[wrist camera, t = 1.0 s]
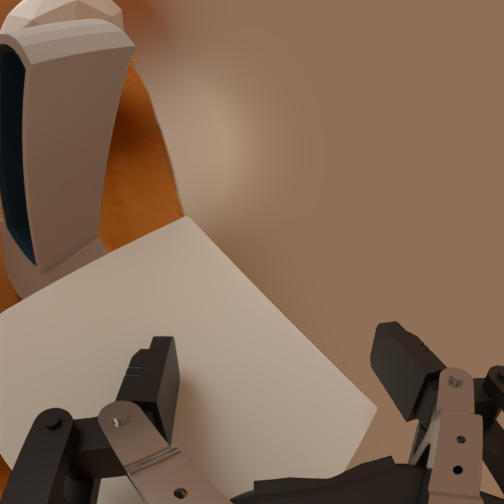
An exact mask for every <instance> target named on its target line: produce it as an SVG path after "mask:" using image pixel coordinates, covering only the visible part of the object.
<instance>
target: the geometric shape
mask: <svg viewBox="0 0 504 504" xmlns="http://www.w3.org/2000/svg"><path fill="white" fill-rule="evenodd" d="M82 19H102V20H105V21H107V22H110V23H113V24H114V25H116V26H117V27H118V28H120V29H121V30H123V19H122V10H121V9H120V8H119V7H118V6H117V5H116V4H115V3H114V2H113V1H112V0H23V1H22V2H21V3H19V4H18V5H17V6H16V7H15V8H14V9H13V10H12V11H11V12H10V13H9V14H8V15H7V17H6V19H5V21H4V23H3V25H2V28H1V30H0V34H3V33H6V32H11V31H15V30H19V29H24V28H28V27H33V26H39V25H44V24H50V23H57V22H64V21H72V20H82Z"/></svg>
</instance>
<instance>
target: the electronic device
mask: <svg viewBox="0 0 504 504" xmlns="http://www.w3.org/2000/svg"><path fill="white" fill-rule="evenodd" d="M134 48H135V45H134V44H133V43H132V41H131V40H130V39H129V37H128V36H127V35H126V34H125V33H124V31H123V30H121V29H120V28H118V27H117V26H116V25H114V24H113V23H110V22H107V21H105V20H102V19H82V20H72V21H64V22H57V23H50V24H44V25H39V26H33V27H28V28H24V29H19V30H15V31H11V32H6V33H3V34H0V209H1V214H2V218H3V219H2V220H0V229H1V242H2V252H3V261H4V269H5V272H6V274H7V276H8V279H9V281H10V283H11V285H12V287H13V288H14V290H15V291H16V292H17V294H18V295H19V296H20V298H21V299H22V300H24V299H25V298H27V297H29V296H31V295H32V294H34V293H36V292H38V291H39V290H41V289H43V288H45V287H47V286H48V285H50V284H52V283H54V282H56V281H57V280H59V279H61V278H63V277H65V276H67V275H68V274H70V273H72V272H74V271H76V270H78V269H80V268H82V267H83V266H85V265H87V264H89V263H91V262H93V261H95V260H97V259H99V258H101V257H103V256H105V255H107V254H108V253H107V251H106V249H105V247H104V245H103V243H102V241H101V239H100V237H99V236H98V229H99V218H100V209H101V200H102V193H103V185H104V178H105V172H106V165H107V160H108V154H109V148H110V143H111V138H112V133H113V128H114V123H115V119H116V114H117V110H118V106H119V102H120V98H121V94H122V90H123V86H124V82H125V79H126V75H127V72H128V68H129V65H130V62H131V58H132V55H133V52H134Z"/></svg>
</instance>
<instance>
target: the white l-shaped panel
mask: <svg viewBox="0 0 504 504" xmlns="http://www.w3.org/2000/svg"><path fill="white" fill-rule="evenodd" d="M154 336H173V337H174V339H175V345H176V352H177V358H178V365H179V372H180V384H179V391H178V398H177V405H176V412H175V419H174V426H173V433H172V441H171V448H173V449H174V448H178V449H179V450H181V451H182V452H183V453H184V454H185V455H186V457H187V458H188V459H189V460H190V461H191V462H192V463H193V464H194V465H195V466H196V467H197V469H198V470H199V471H200V472H201V473H202V474H203V475H204V476H205V477H206V478H207V479H208V480H209V481H210V482H211V483H212V484H213V485H214V486H215V487H216V488H217V489H218V490H219V491H220V492H221V493H222V494H223V495H224V496H225V497H227V498H228V499H229V500H230V499H231V498H233V497H235V496H237V495H240V494H242V493H245V492H248V491H251V490H254V481H258V480H269V479H279V478H288V477H296V478H321V479H327V478H332V477H334V476H336V475H339V474H341V473H343V472H344V471H345V469H346V468H347V466H348V464H349V462H350V461H351V459H352V457H353V455H354V454H355V452H356V450H357V448H358V446H359V444H360V443H361V441H362V439H363V437H364V435H365V433H366V431H367V429H368V427H369V425H370V423H371V421H372V419H373V417H374V415H375V413H376V411H377V409H378V408H377V407H376V406H375V405H374V404H373V403H372V402H371V401H370V400H369V399H368V398H367V397H366V396H365V395H364V394H363V393H362V392H361V391H360V390H359V389H358V388H357V387H356V386H355V385H354V384H352V382H351V381H350V380H349V379H347V378H346V377H345V376H344V375H343V374H342V373H341V372H340V371H339V370H338V369H337V368H336V367H335V366H334V365H333V364H332V363H331V362H330V361H329V360H328V359H327V358H326V357H325V356H324V355H323V354H322V353H321V352H320V351H319V350H318V349H317V348H316V347H315V346H314V345H313V344H312V343H311V342H310V341H309V340H308V339H307V338H306V337H305V336H304V335H303V334H302V333H301V332H300V331H299V330H298V329H297V328H296V327H295V326H294V325H293V324H292V323H291V322H290V321H289V320H288V319H287V318H286V317H285V316H284V315H283V314H282V313H281V312H280V311H279V310H278V309H277V308H276V307H275V306H274V305H273V304H272V303H271V302H270V301H269V299H268V298H266V296H265V295H263V293H262V292H261V291H259V289H258V288H257V287H256V286H255V285H254V284H253V283H252V282H251V281H250V280H249V279H248V278H247V277H246V276H245V275H244V274H243V273H242V272H241V271H240V270H239V269H238V268H237V267H236V266H235V265H234V264H233V262H232V261H230V260H229V258H228V257H227V256H226V255H225V254H224V253H223V252H222V251H221V250H220V249H219V248H218V247H217V246H216V245H215V244H214V243H213V242H212V241H211V240H210V239H209V238H208V237H207V235H205V233H204V232H203V231H202V230H201V229H200V228H199V227H198V226H197V225H196V224H195V223H194V222H193V221H192V220H191V219H190V217H188V216H185V217H183V218H181V219H179V220H177V221H174V222H172V223H170V224H168V225H166V226H164V227H162V228H160V229H157V230H155V231H153V232H151V233H149V234H147V235H145V236H143V237H141V238H139V239H137V240H135V241H133V242H131V243H129V244H127V245H125V246H123V247H121V248H119V249H117V250H115V251H113V252H111V253H109V254H107V255H105V256H103V257H101V258H99V259H97V260H95V261H93V262H91V263H89V264H87V265H85V266H83V267H82V268H80V269H78V270H76V271H74V272H72V273H70V274H68V275H67V276H65V277H63V278H61V279H59V280H57V281H56V282H54V283H52V284H50V285H48V286H47V287H45V288H43V289H41V290H39V291H38V292H36V293H34V294H32V295H31V296H29V297H27V298H25V299H24V300H22V301H20V302H19V303H17V304H15V305H13V306H12V307H10V308H8V309H7V310H5V311H3V312H2V313H0V454H1V456H2V457H3V459H4V460H5V462H6V463H7V464H8V466H9V467H10V469H11V470H13V467H14V465H15V462H16V460H17V458H18V455H19V453H20V451H21V448H22V446H23V444H24V442H25V439H26V437H27V435H28V433H29V431H30V429H31V427H32V424H33V422H34V420H35V418H36V417H37V416H38V415H39V414H40V413H41V412H43V411H44V410H47V409H50V408H61V409H64V410H66V411H68V412H69V413H70V414H71V416H72V418H73V419H82V418H91V417H96V416H98V415H99V412H100V411H101V409H102V408H103V407H105V406H106V405H108V404H110V403H112V402H115V400H116V397H117V394H118V392H119V389H120V386H121V384H122V381H123V378H124V376H125V375H126V371H127V368H128V367H129V363H130V361H131V358H132V356H133V355H134V354H135V353H136V352H138V351H139V350H140V349H149V347H150V344H151V341H152V339H153V337H154ZM97 504H145V503H144V501H143V500H142V498H141V497H140V496H139V494H138V493H137V491H136V490H135V488H134V487H133V485H132V484H131V482H130V481H129V479H128V478H127V476H119V477H111V478H102V479H101V483H100V489H99V494H98V499H97Z"/></svg>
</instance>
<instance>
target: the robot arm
mask: <svg viewBox="0 0 504 504" xmlns="http://www.w3.org/2000/svg"><path fill="white" fill-rule="evenodd" d="M370 362H371V367H372V369H373V371H374V372H375V374H376V375H377V377H378V378H379V380H380V382H381V383H382V384H383V386H384V388H385V389H386V391H387V392H388V394H389V395H390V397H391V399H392V400H393V401H394V403H395V405H396V406H397V408H398V410H399V411H400V413H401V414H402V416H403V417H404V419H405V421H406V422H408V421H411V420H414V419H418V420H419V423H418V425H417V428H416V433H415V437H414V441H413V445H412V450H411V454H410V457H409V461H408V464H395V462H394V460H393V458H392V456H388V457H384V458H381V459H378V460H374V461H370V462H366V463H362V464H360V465H358V466H356V467H354V468H352V469H349V470H347V471H345V472H343V473H341V474H339V475H336V476H334V477H332V478H327V479H321V478H296V477H288V478H279V479H269V480H258V481H254V490H251V491H248V492H245V493H242V494H240V495H237V496H235V497H233V498H231V499H230V500H229V499H228V498H227V497H225V496H224V495H223V494H222V493H221V492H220V491H219V490H218V489H217V488H216V487H215V486H214V485H213V484H212V483H211V482H210V481H209V480H208V479H207V478H206V477H205V476H204V475H203V474H202V473H201V472H200V471H199V470H198V469H197V467H196V466H195V465H194V464H193V463H192V462H191V461H190V460H189V459H188V458H187V457H186V455H185V454H184V453H183V452H182V451H181V450H179V449H178V448H174V449H173V448H171V441H172V433H173V426H174V419H175V412H176V405H177V398H178V391H179V384H180V372H179V365H178V358H177V352H176V345H175V339H174V337H173V336H154V337H153V339H152V341H151V344H150V347H149V349H140V350H139V351H138V352H136V353H135V354H134V355H133V356H132V358H131V361H130V363H129V367H128V368H127V371H126V375H125V376H124V378H123V381H122V384H121V386H120V389H119V392H118V394H117V397H116V400H115V402H112V403H110V404H108V405H106V406H105V407H103V408H102V409H101V411H100V412H99V415H98V416H96V417H91V418H82V419H73V418H72V416H71V414H70V413H69V412H68V411H66V410H64V409H61V408H50V409H47V410H44V411H43V412H41V413H40V414H39V415H38V416H37V417H36V418H35V420H34V422H33V424H32V427H31V429H30V431H29V433H28V435H27V437H26V439H25V442H24V444H23V446H22V448H21V451H20V453H19V455H18V458H17V460H16V462H15V465H14V467H13V470H12V472H11V475H10V477H9V480H8V482H7V485H6V488H5V490H4V493H3V496H2V499H1V501H0V504H97V499H98V494H99V489H100V483H101V479H102V478H111V477H119V476H127V478H128V479H129V481H130V482H131V484H132V485H133V487H134V488H135V490H136V491H137V493H138V494H139V496H140V497H141V498H142V500H143V501H144V503H145V504H504V499H502V498H499V497H496V496H493V495H490V494H487V493H484V492H482V491H480V483H481V471H482V460H483V461H484V463H485V464H486V466H487V468H488V469H489V471H490V472H491V474H492V476H493V477H494V479H495V481H496V482H497V484H498V485H499V487H500V489H501V490H502V492H503V494H504V430H503V428H502V427H501V426H500V424H499V423H498V422H497V420H496V419H497V417H498V416H499V414H500V412H501V410H503V411H504V366H493V367H491V368H490V369H489V371H488V374H487V376H486V378H475V379H472V377H471V375H470V374H469V373H467V372H466V371H464V370H462V369H459V368H447V367H446V366H445V365H444V364H443V363H442V362H441V361H440V360H439V359H438V358H437V356H436V355H435V354H434V353H433V352H432V351H430V349H429V348H428V347H427V346H426V345H424V343H423V342H422V341H421V340H420V339H419V338H418V337H417V336H415V335H414V334H412V333H410V332H408V331H406V330H405V329H404V328H403V327H402V326H401V325H400V324H399V323H398V322H396V321H394V322H387V323H380V324H379V325H378V326H377V328H376V332H375V337H374V342H373V346H372V351H371V355H370Z"/></svg>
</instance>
